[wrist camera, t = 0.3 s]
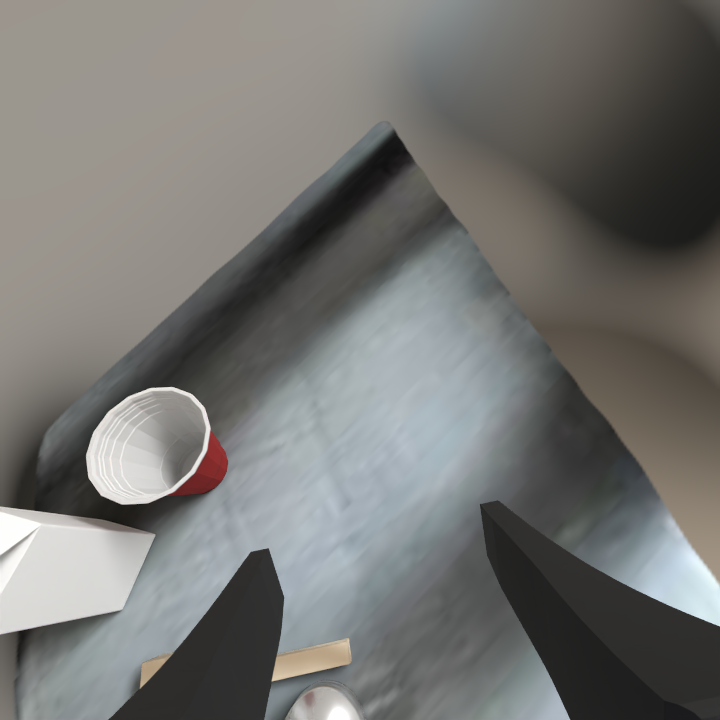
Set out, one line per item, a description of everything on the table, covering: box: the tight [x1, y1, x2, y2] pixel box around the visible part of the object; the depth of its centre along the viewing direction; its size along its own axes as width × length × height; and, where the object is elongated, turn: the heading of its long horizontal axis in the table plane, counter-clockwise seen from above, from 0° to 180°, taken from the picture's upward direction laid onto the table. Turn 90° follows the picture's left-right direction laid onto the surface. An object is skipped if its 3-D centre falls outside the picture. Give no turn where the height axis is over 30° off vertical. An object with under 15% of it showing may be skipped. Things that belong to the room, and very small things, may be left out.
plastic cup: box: [86, 387, 228, 505], centre depth 37 cm, size 11×11×12 cm
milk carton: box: [0, 507, 155, 635], centre depth 30 cm, size 7×7×19 cm
